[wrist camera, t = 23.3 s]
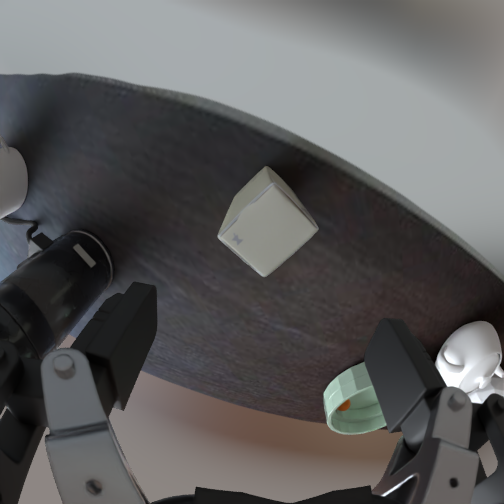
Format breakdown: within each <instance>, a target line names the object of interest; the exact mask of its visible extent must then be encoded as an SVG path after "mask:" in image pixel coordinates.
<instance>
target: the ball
mask: <svg viewBox="0 0 504 504" xmlns="http://www.w3.org/2000/svg"><path fill="white" fill-rule="evenodd" d="M350 404H351V402H350V400H349V399H348V400H346V401H345V402H344V403H343V404H341V405H340V406H339V407H338V408H337V409H338V410H339V411H346V410H347V409H348V408H349V407H350Z"/></svg>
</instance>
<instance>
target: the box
mask: <svg viewBox="0 0 504 504" xmlns="http://www.w3.org/2000/svg"><path fill="white" fill-rule="evenodd" d="M317 231H318V226H317V225H316V223H315V221H314V220H313V218H312V217H311V215H310V214H309V212H308V211H307V210H306V208H305V207H304V206H303V204H302V203H301V201H300V200H299V198H298V197H297V196H296V194H295V193H294V191H293V190H292V189H291V188H290V187H289V186H288V185H287V184H286V183H285V182H284V181H283V180H282V179H281V178H280V177H279V176H278V175H277V174H276V173H275V172H274V171H273V170H272V169H271V168H270V167H268V166H265V167H264V168H263V169H262V170H261V171H260V172H258V173H257V174H256V175H255V176H254V177H253V178H252V179H251V180H250V181H249V182H248V183H247V184H246V185H245V186H244V187H243V188H242V189H241V190H240V191H239V192H238V193H237V194H236V195H235V197H234V198H233V201H232V203H231V206H230V208H229V210H228V212H227V215H226V217H225V219H224V222H223V224H222V226H221V229H220V231H219V234H218V238H219V239H220V240H221V241H222V242H223V243H224V244H225V245H226V246H228V247H229V248H230V249H231V250H232V251H233V252H234V253H235V254H236V255H238V256H239V257H240V258H241V259H242V260H243V261H245V262H246V263H247V264H248V265H249V266H251V267H252V268H253V269H254V270H255V271H257V272H258V273H259V274H260V275H262V276H263V277H266V276H268V275H269V274H270V273H271V272H273V271H274V270H275V269H276V268H277V267H279V266H280V265H281V264H282V263H283V262H284V261H285V260H287V259H288V258H289V257H290V256H291V255H292V254H294V253H295V252H296V251H297V250H298V249H299V248H300V247H301V246H302V245H303V244H305V243H306V242H307V241H308V240H309V239H310V238H311V237H312V236H313V235H314V234H315V233H316V232H317Z"/></svg>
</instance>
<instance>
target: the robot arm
mask: <svg viewBox="0 0 504 504" xmlns="http://www.w3.org/2000/svg"><path fill="white" fill-rule="evenodd" d="M1 220H3V221H4V222H6V223H8V224H13V225H30V226H32V227H31V228H29V229H28V231H27V233H26V238H27V242H28V244H29V250H28V258H27V259H26V260H24V261H23V262H22V263H20V264H19V265H18V266H17V270H15V271H14V272H13V273H11V274H10V275H9V276H8V277H6V278H5V279H4V280H3V281H1V282H0V415H1V413H2V411H3V409H4V407H5V406H7V409H6V411H5V413H4V415H3V416H2V418H1V419H0V504H18V501H19V498H20V494H21V491H22V488H23V485H24V482H25V479H26V476H27V474H28V471H29V468H30V465H31V463H32V460H33V457H34V455H35V452H36V450H37V447H38V445H39V443H40V440H41V438H42V436H43V433H44V431H45V429H46V427H49V430H50V434H49V435H46V436H45V446H46V451H47V455H48V459H49V462H50V466H51V469H52V473H53V476H54V479H55V483H56V485H57V489H58V491H59V494H60V497H61V500H62V503H63V504H504V397H503V396H501V395H499V394H496V393H492V394H490V395H489V396H488V397H487V399H486V400H485V401H484V402H483V403H482V404H480V403H473V402H471V400H470V398H469V396H468V395H467V394H466V393H465V392H464V391H463V390H461V389H459V388H457V387H454V386H448V387H447V385H446V383H445V381H444V379H443V378H442V376H441V374H440V373H439V371H438V369H437V368H436V366H435V364H434V363H433V361H432V360H431V358H430V356H429V354H428V353H426V349H425V348H424V346H423V345H422V343H421V342H420V341H419V340H418V339H417V338H416V337H415V336H414V335H413V334H412V333H411V332H410V330H409V329H408V327H407V325H406V324H405V322H404V321H403V320H401V319H390V318H383V319H382V320H381V321H380V323H379V325H378V327H377V329H376V331H375V333H374V335H373V337H372V339H371V341H370V343H369V345H368V347H367V349H366V352H365V356H364V362H365V366H366V369H367V372H368V374H369V377H370V380H371V382H372V385H373V388H374V390H375V393H376V396H377V399H378V402H379V404H380V407H381V410H382V413H383V416H384V419H385V422H386V425H387V428H388V431H389V433H394V432H400V431H402V433H403V436H402V437H401V438H400V439H399V441H398V443H397V446H396V448H395V450H394V453H393V455H392V457H391V460H390V462H389V464H388V467H387V469H386V471H385V473H384V475H383V477H382V479H381V481H380V482H379V483H378V484H377V486H376V487H375V488H374V489H373V490H372V491H371V486H370V485H369V486H364V487H358V488H351V489H344V490H336V491H332V492H328V493H325V494H322V495H319V496H316V497H313V498H309V499H306V500H302V501H298V502H295V503H284V502H279V501H274V500H270V499H266V498H262V497H258V496H254V495H250V494H247V493H243V492H233V491H232V492H231V491H223V490H215V489H207V488H201V487H196V489H195V494H193V495H180V496H173V497H168V498H164V499H161V500H158V501H155V502H152V503H150V502H149V501H148V499H147V498H146V496H145V494H144V492H143V490H142V488H141V487H140V485H139V483H138V481H137V479H136V478H135V476H134V474H133V472H132V470H131V468H130V466H129V464H128V462H127V460H126V458H125V456H124V453H123V451H122V449H121V447H120V444H119V442H118V440H117V437H116V435H115V433H114V430H113V428H112V425H111V422H110V420H109V415H110V413H111V410H112V408H113V407H114V408H116V409H120V410H123V411H124V409H125V406H126V404H127V402H128V399H129V397H130V394H131V392H132V389H133V387H134V385H135V382H136V380H137V378H138V375H139V373H140V371H141V368H142V366H143V364H144V361H145V359H146V357H147V354H148V352H149V350H150V348H151V345H152V343H153V341H154V339H155V335H156V331H157V290H156V286H154V285H149V284H144V283H139V282H133V283H132V284H131V286H130V287H129V288H128V290H127V291H126V292H125V294H121V293H117V294H115V295H113V296H112V297H110V298H108V299H106V300H105V302H104V303H103V304H102V305H101V307H100V308H99V311H97V312H96V313H95V314H94V316H93V319H91V320H90V321H89V322H88V324H87V325H86V326H85V328H84V329H83V330H82V332H81V333H80V334H79V336H78V337H77V338H76V340H75V341H74V343H73V344H72V346H71V347H70V348H60V349H58V347H59V346H60V345H61V343H62V342H63V341H64V340H65V338H66V337H67V335H68V334H69V333H70V332H71V331H72V329H73V328H74V327H75V326H76V324H77V323H78V322H79V321H80V319H81V318H82V317H83V316H84V314H85V313H86V312H87V311H88V310H89V308H90V307H91V306H92V305H93V304H94V302H95V301H96V300H97V299H98V298H99V297H100V295H101V294H102V293H103V292H104V291H106V290H107V288H108V287H109V286H110V285H111V283H112V281H113V277H114V265H113V260H112V257H111V255H110V253H109V251H108V249H107V247H106V246H105V244H104V243H103V242H102V241H101V240H100V239H99V238H98V237H97V236H96V235H94V234H93V233H91V232H89V231H86V230H81V229H77V230H73V231H70V232H69V233H67V234H66V235H64V236H63V237H58V238H57V239H55V240H54V241H52V240H51V239H49V238H48V237H47V236H46V235H44V234H43V233H40V234H38V235H37V236H35V237H33V238H32V233H34V232H35V231H36V230H37V229H38V225H37V223H36V222H35V221H29V220H20V219H11V218H8V217H6V216H5V217H3V218H1ZM488 440H490V443H491V445H492V447H493V450H494V452H495V455H496V457H497V460H498V466H497V469H496V471H495V472H494V473H493V474H492V475H490V476H489V477H487V476H486V474H485V471H484V468H483V465H482V462H481V460H480V457H479V454H478V452H477V450H478V449H479V448H481V446H482V445H484V444H485V443H486V442H487V441H488Z"/></svg>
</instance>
